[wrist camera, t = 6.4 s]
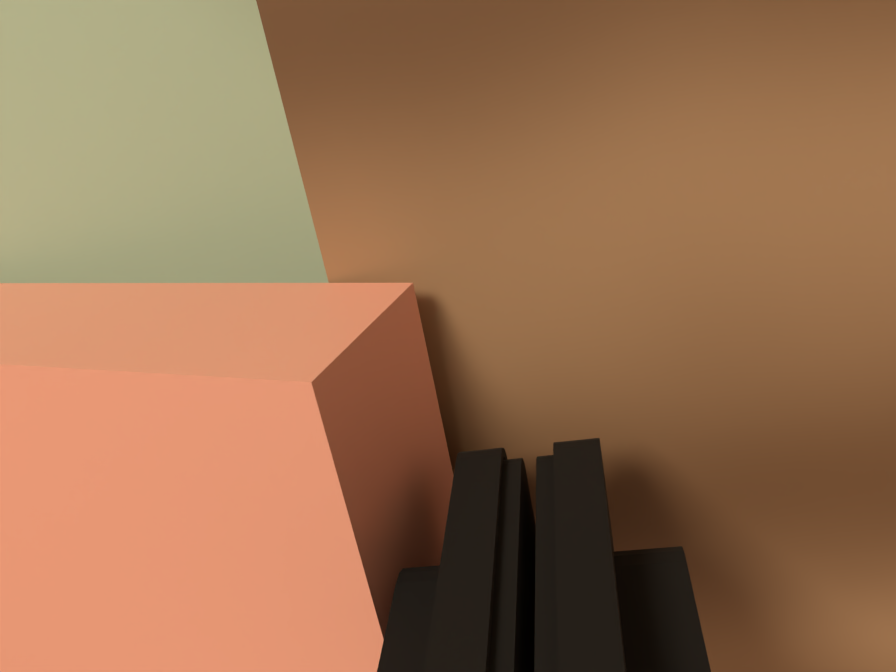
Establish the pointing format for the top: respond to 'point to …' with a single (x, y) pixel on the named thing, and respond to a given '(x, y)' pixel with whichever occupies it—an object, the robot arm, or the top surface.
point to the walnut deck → (642, 269)
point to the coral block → (212, 474)
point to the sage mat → (146, 147)
